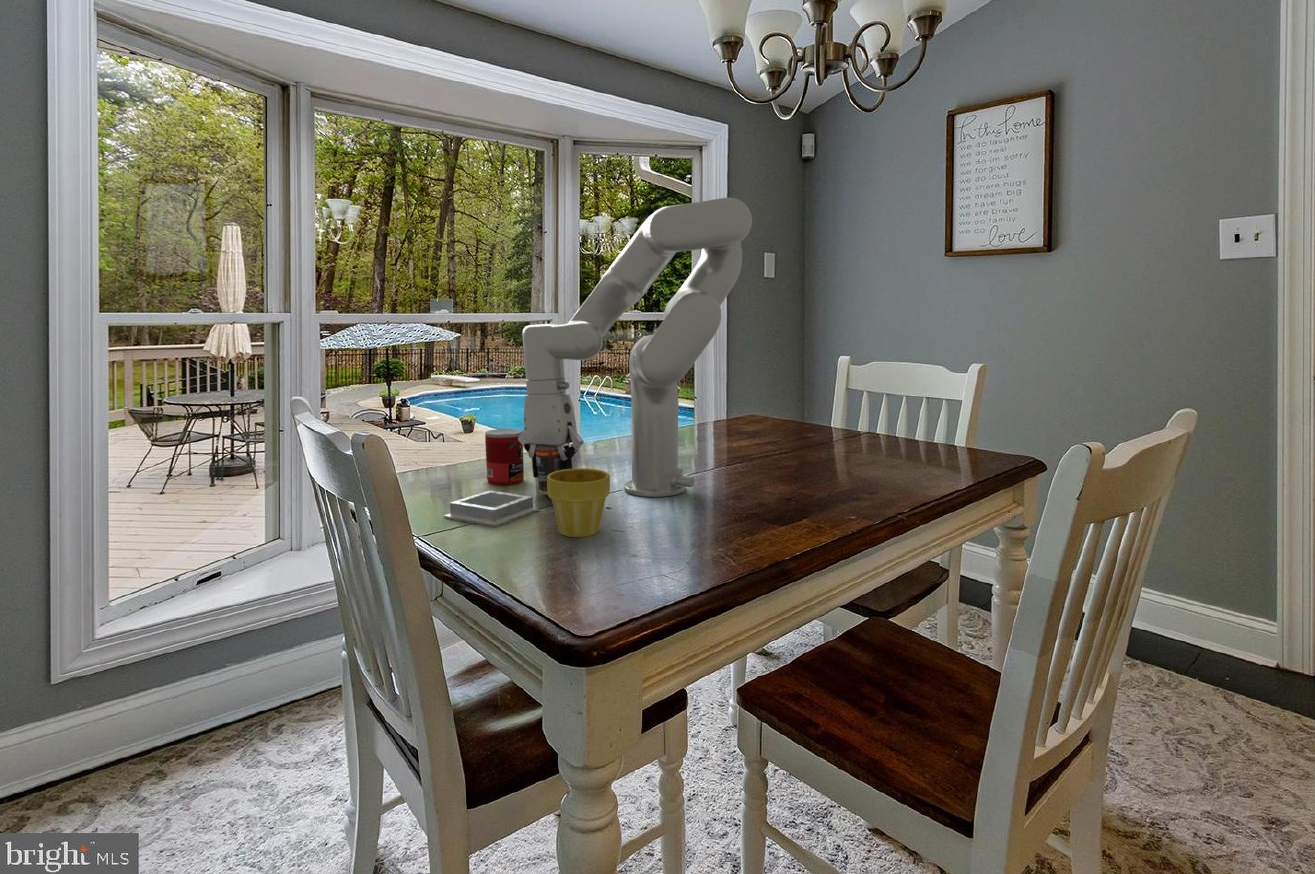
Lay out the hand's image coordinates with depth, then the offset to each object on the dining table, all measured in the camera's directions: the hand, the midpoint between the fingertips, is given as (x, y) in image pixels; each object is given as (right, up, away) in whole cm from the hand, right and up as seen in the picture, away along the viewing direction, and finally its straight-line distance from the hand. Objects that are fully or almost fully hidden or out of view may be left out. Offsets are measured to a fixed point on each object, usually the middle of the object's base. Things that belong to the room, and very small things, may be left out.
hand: (552, 476), depth 147 cm
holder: (-9, -6, -13) cm, 17 cm away
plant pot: (+8, -8, -24) cm, 26 cm away
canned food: (-12, -2, +12) cm, 17 cm away
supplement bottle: (0, -3, 0) cm, 3 cm away
